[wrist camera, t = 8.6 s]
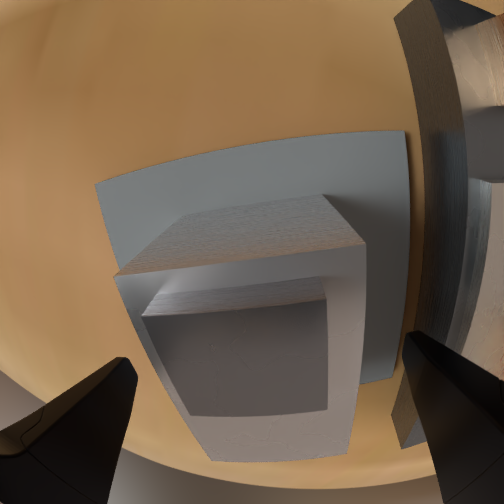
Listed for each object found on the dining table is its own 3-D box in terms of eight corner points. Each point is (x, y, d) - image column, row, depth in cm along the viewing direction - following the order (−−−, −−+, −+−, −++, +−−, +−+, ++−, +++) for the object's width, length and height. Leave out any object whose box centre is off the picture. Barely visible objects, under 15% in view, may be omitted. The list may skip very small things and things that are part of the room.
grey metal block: (182, 215, 10) (94, 295, 5) (321, 193, 9) (380, 261, 4) (228, 374, 13) (208, 477, 7) (330, 364, 12) (349, 471, 7)
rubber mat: (398, 131, 9) (404, 130, 8) (389, 370, 13) (391, 377, 12) (101, 182, 10) (94, 184, 10) (179, 390, 14) (176, 396, 14)
